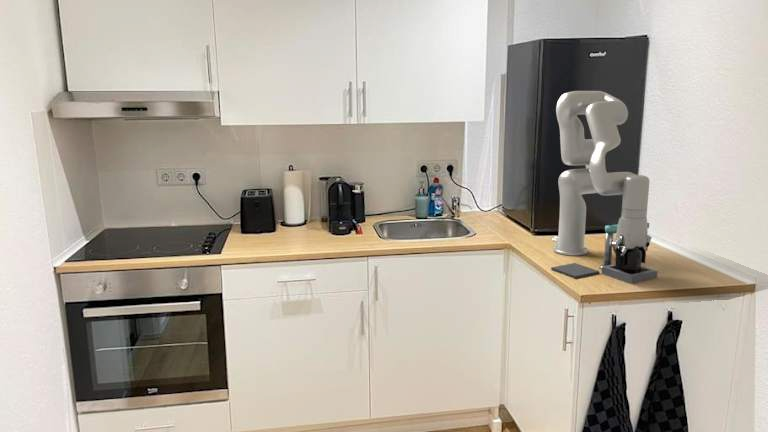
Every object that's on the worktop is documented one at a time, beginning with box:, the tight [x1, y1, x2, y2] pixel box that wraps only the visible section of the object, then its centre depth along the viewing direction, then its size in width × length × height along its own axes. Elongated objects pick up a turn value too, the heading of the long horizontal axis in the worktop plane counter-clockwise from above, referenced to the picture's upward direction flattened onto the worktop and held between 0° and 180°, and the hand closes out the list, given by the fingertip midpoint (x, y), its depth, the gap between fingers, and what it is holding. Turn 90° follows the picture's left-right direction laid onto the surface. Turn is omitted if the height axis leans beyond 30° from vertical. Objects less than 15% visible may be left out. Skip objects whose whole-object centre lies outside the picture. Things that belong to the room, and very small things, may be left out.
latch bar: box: [604, 222, 650, 234], centre depth 195 cm, size 17×6×2 cm, turn 116°
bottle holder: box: [601, 263, 658, 285], centre depth 187 cm, size 12×12×2 cm
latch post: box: [598, 232, 614, 271], centre depth 194 cm, size 5×5×13 cm
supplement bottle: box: [618, 245, 642, 274], centre depth 186 cm, size 7×7×12 cm
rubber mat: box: [550, 262, 600, 279], centre depth 192 cm, size 11×11×1 cm
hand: (630, 264), depth 186 cm, fingers open, 9 cm apart
